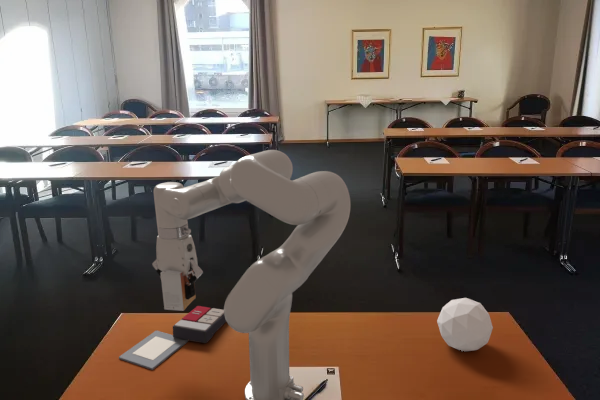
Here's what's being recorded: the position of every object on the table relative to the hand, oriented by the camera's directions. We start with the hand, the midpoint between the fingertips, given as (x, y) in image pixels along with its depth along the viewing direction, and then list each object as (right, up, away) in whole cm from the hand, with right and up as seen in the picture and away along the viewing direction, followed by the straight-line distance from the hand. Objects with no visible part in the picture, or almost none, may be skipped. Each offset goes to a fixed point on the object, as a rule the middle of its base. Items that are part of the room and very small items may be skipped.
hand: (179, 294), depth 126 cm
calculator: (+2, -15, +19) cm, 24 cm away
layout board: (-9, -18, +9) cm, 22 cm away
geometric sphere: (+78, -17, +10) cm, 81 cm away
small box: (0, -3, +1) cm, 3 cm away
